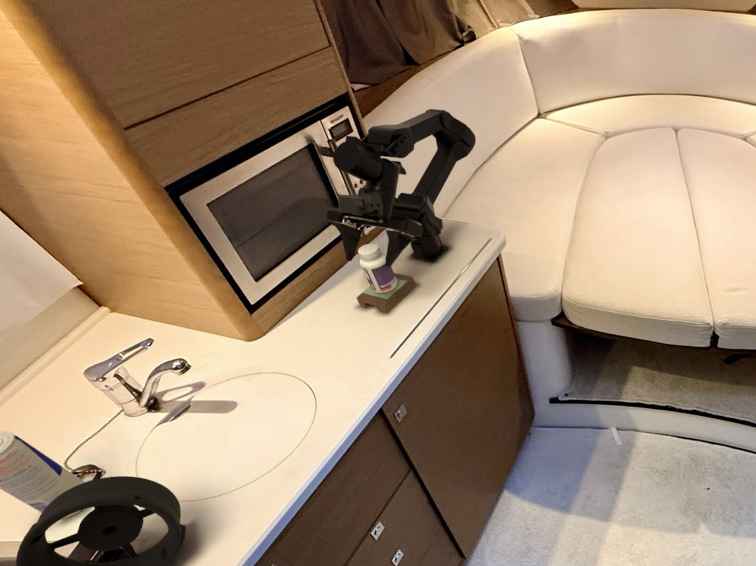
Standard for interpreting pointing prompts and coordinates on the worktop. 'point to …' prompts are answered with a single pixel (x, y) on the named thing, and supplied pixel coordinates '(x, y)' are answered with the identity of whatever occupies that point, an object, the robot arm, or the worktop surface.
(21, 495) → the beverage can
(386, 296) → the box with green label
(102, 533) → the black wheel
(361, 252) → the pill bottle
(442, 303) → the worktop surface
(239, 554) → the worktop surface
